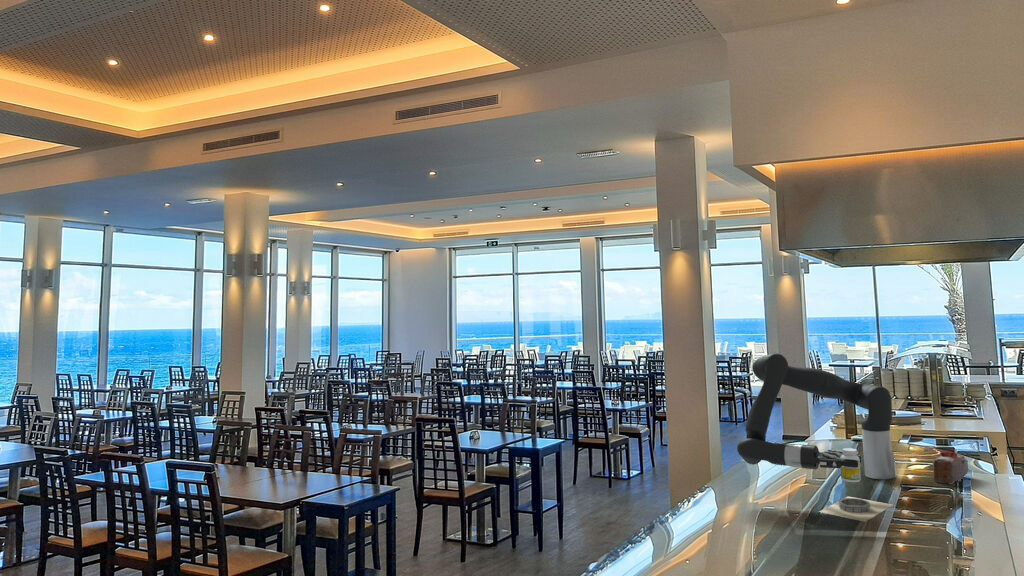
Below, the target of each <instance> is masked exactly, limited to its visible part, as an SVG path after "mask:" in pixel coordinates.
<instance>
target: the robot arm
mask: <svg viewBox="0 0 1024 576" xmlns="http://www.w3.org/2000/svg"><path fill="white" fill-rule="evenodd" d="M788 362H789V361H788V360H787V358H786V357H785V356H784V355H782V354H780V353H777V352H776V353H769V354H767V355H763V356H760V357H758V358H757V359H756V360H754V362H753V363H752V371H753V375H754V376H755V377H756V378H757V379H759V380H760V381H762V382H763V384H762V386H761V388H760V390H759V392H758V394H757V396H756V398H755V399H754V401H753V402H752V405H751V407H750V408H749V412H748V415H747V419H746V424H745V433H746V438H744V439H742V440H740V441H738V444H737V447H736V449H737V453H738V455H739V456H740V457H741V458H742V459H743V460H744V461H745V463H747V464H749V465H757V464H759V463H760V462H762V461H765V462H768V463H770V464H772V465H776V466H786V467H791V468H797V469H807V470H818V469H819V468H826V469H840V470H841V467H844V466H845V467H855V468H857V467H858V461H857V460H851V459H843V458H841V456H842V455H844V454H843V451H839V450H831V449H827V450H824V451H822V452H820V450H819V448H818V446H817V445H812V444H799V443H778V442H770V441H767V440H766V437H767V432H768V429H769V425H770V420H771V417H772V416H771V415H772V412H773V409H774V406H775V402H776V400H777V398H778V395H779V393H780V390H781V388H782V386H788V387H791V388H794V389H797V390H800V391H804V392H807V393H808V394H809V393H810V394H812V395H816V396H819V397H822V398H828V399H832V400H833V399H834V400H842V401H845V402H847V403H850V404H853V405H855V406H857V407H859V408H862V409H865V410H868V412H867V413H868V414H867V417H866V419H863V420H862V421H861V423H860V425H861V438H862V451H863V464H864V465H863V466H864V467H863V468H864V476H865V477H866V478H870V479H874V480H891V479H896V467H895V455H894V454H895V453H894V451H893V448H892V438H891V424H892V420H893V403H892V396H891V393H890V391H889V390H888V389H887V388H886V387H884V386H881V385H875V384H870V383H869V384H868V383H860V382H854V381H850V380H846V379H844V378H843V377H841V376H840V375H837V374H835V373H833V372H830V371H826V370H823V369H820V368H814V367H805V366H790V365H789V364H788ZM856 456H858V457H859V459H860V464H861V463H862V456H861V455H858V454H857V455H856Z"/></svg>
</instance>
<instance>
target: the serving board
mask: <svg viewBox="0 0 1024 576" xmlns="http://www.w3.org/2000/svg"><path fill="white" fill-rule="evenodd" d="M845 498H856V499H862V500H865V501H868V502H869V503H870V510H869V511H868V512H863V513H854V512H847V511H844V510H841V509H840V508H839V503H838V501H836V502H834V503H832V504H831V505H829V506H827V507H825V508H823V509H821V510H820V511H818V513H822V514H826V515H830V516H831V515H832V516H837V517H841V518H845V519H850V520H855V521H860V522H864V523H865V522H868V521H869V520H870V519H873V518H874V517H876V516H877V515H879V514H880V513H882V512H885V511H886V510H887V509H889V508H891V507H892V506H893V504H890V503H886V502H881V501H875V500H870V499H863V498H859V497H854V496H848V495H847V496H845V497H844V498H843V499H845ZM851 506H860V505H851Z"/></svg>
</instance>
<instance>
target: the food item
mask: <svg viewBox="0 0 1024 576" xmlns="http://www.w3.org/2000/svg"><path fill="white" fill-rule="evenodd" d="M968 461H969V460H967V458H965V456H964V455H962V454H960V453H958V452H954V451H941V452H940V453H939V457H936V458H934V459H933V460H932V466H933V467H932V469H933V472H932V474H933V480H934V482H936V483H937V484H938V483H941V484H946V483H953V484H954V483H956V482H958V481H957V480H959V479H962V480H963V479H964V478H965V477H966V475H968V473H969V464H968V463H969V462H968ZM964 476H965V477H964ZM963 477H964V478H963ZM955 481H956V482H955Z"/></svg>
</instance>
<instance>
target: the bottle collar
mask: <svg viewBox="0 0 1024 576" xmlns="http://www.w3.org/2000/svg"><path fill="white" fill-rule="evenodd" d="M844 498H845V499H844ZM844 498H840V499H839V500H838V501H837V502H838V503H839V508H840V509H841V510H844V511H847V512H854V513H863V512H868V511H869V510H870V503H869V502H868V501H865V500H866V499H865V500H862V499H863V498H860V499H856V498H857V497H854V498H846V497H844ZM851 505H860V506H851Z"/></svg>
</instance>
